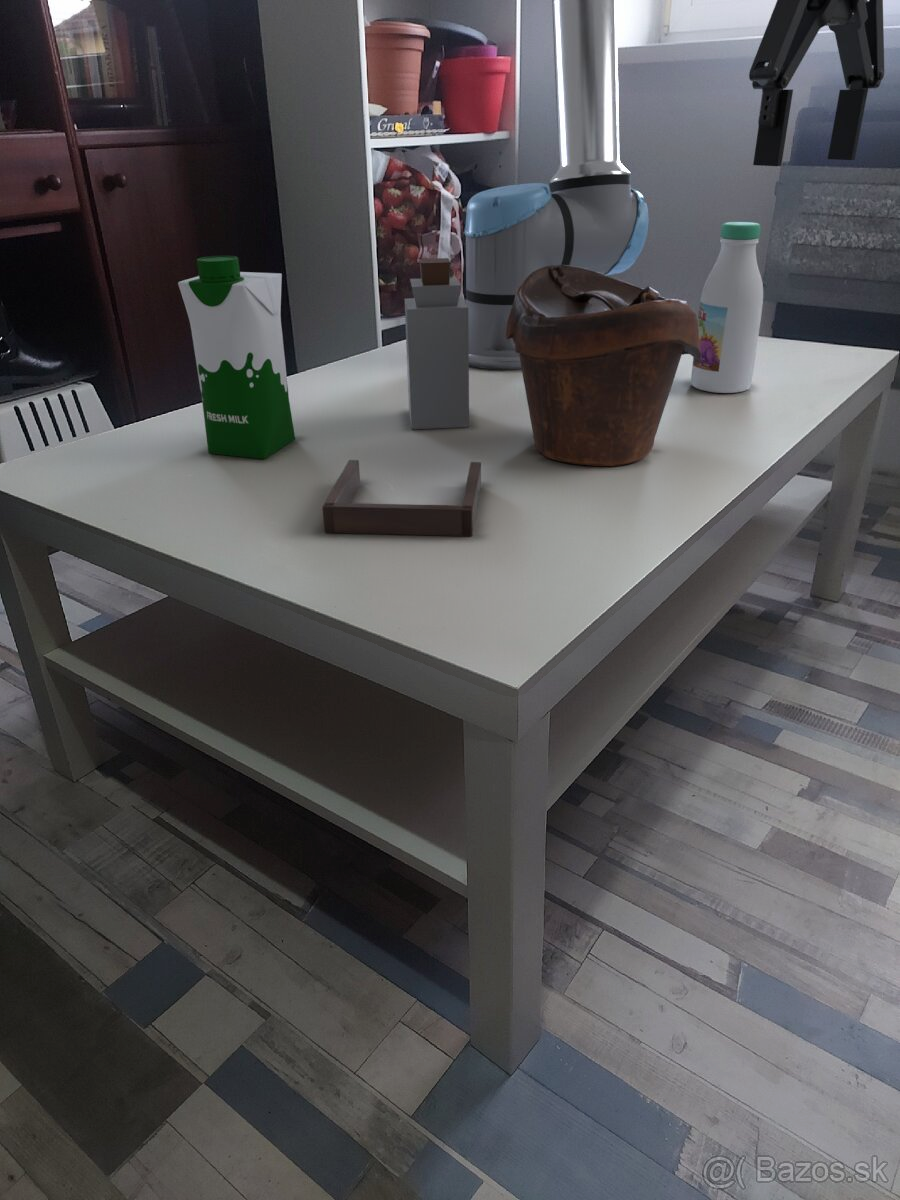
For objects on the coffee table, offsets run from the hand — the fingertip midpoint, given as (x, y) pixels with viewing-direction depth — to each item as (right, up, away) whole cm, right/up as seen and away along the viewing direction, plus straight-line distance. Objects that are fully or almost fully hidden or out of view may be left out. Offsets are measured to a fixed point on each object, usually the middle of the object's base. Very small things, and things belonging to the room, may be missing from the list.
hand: (805, 162), depth 91 cm
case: (-21, -29, +5) cm, 36 cm away
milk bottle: (-1, -17, +26) cm, 31 cm away
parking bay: (-41, -36, -9) cm, 55 cm away
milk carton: (-59, -28, +8) cm, 65 cm away
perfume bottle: (-38, -24, +15) cm, 47 cm away
